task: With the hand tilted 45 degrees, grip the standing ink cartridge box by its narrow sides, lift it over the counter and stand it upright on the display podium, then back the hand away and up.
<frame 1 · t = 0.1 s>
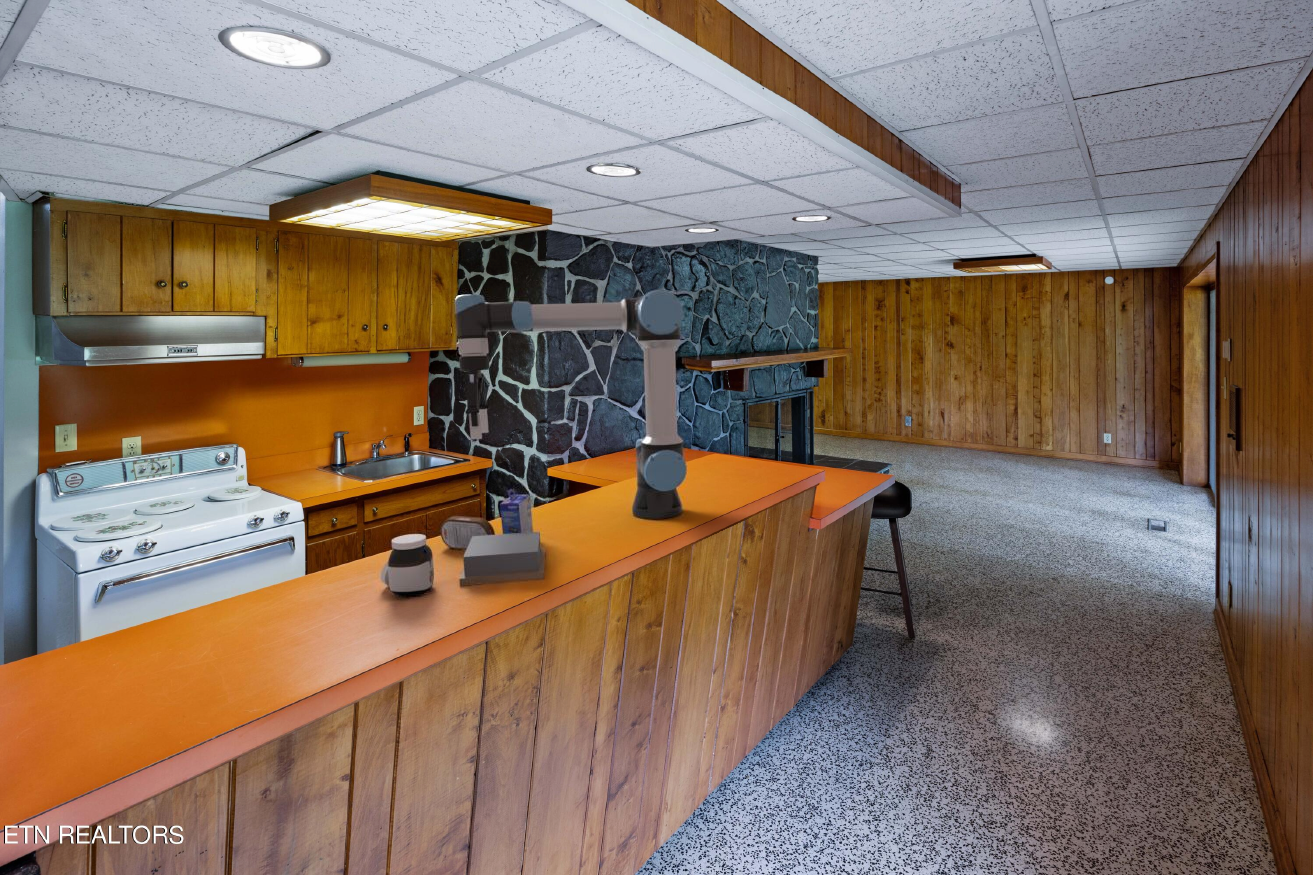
hand: (480, 435, 175), 28 cm above the worktop, tool pointing down, fingers open, 13 cm apart
display podium: (505, 568, 153), on the worktop
spread jar: (407, 590, 141), on the worktop
ink cartridge box: (518, 544, 172), on the worktop
tin: (468, 550, 168), on the worktop
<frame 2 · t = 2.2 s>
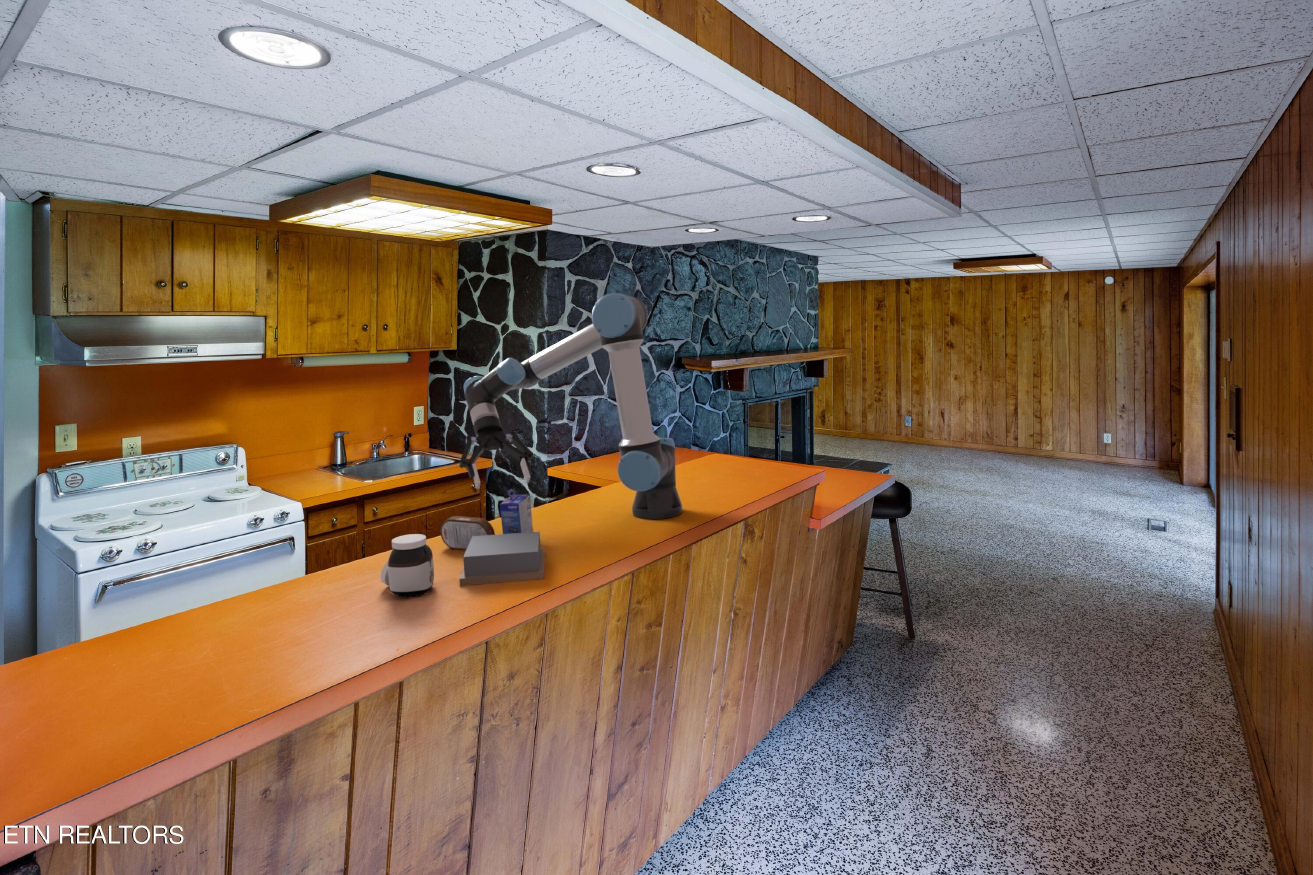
hand: (503, 483, 177), 15 cm above the worktop, tool tilted 45°, fingers open, 13 cm apart
nothing on the worktop moved.
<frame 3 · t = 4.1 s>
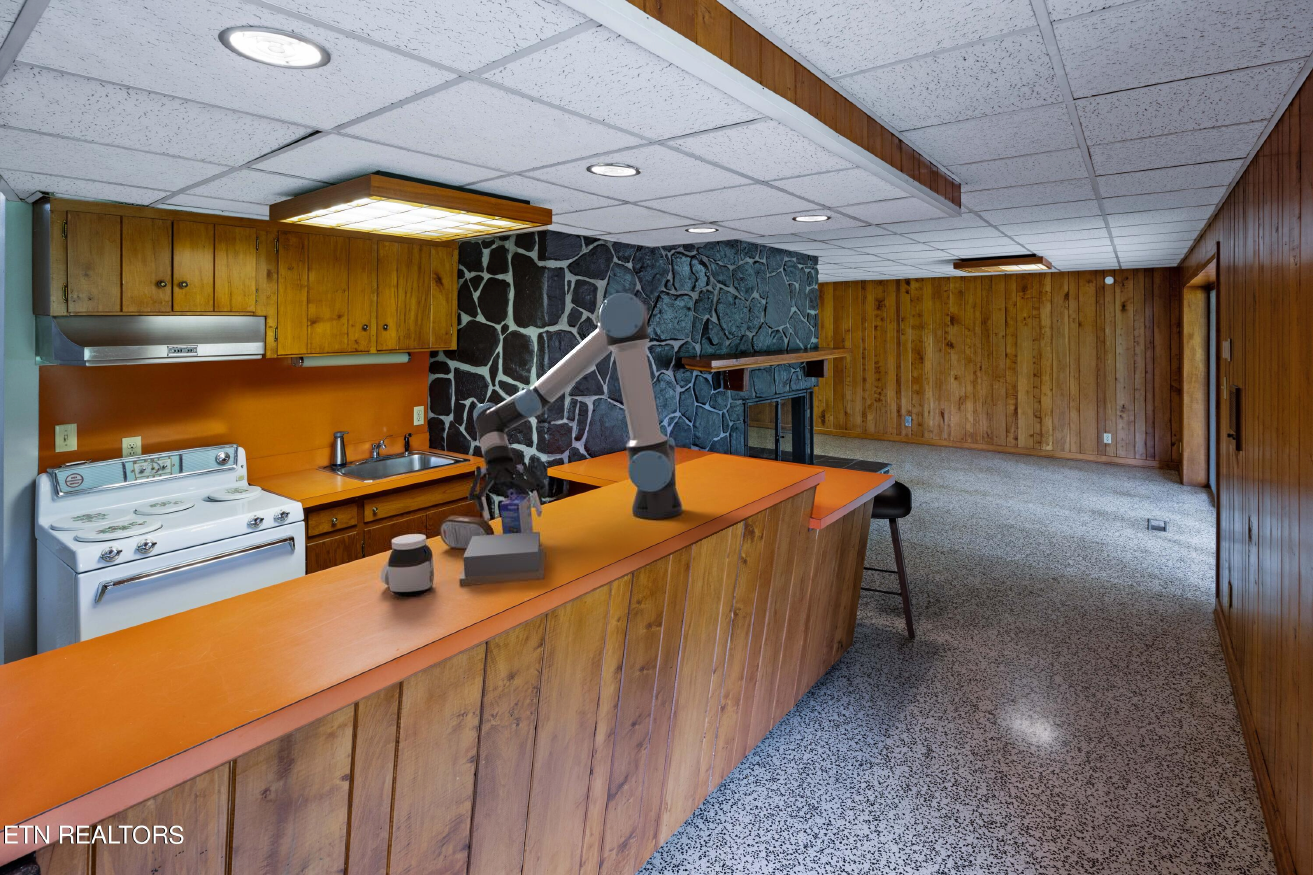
hand: (514, 517, 169), 7 cm above the worktop, tool tilted 45°, fingers open, 13 cm apart
tin: (468, 549, 168), on the worktop, touching gripper
everything else where it was.
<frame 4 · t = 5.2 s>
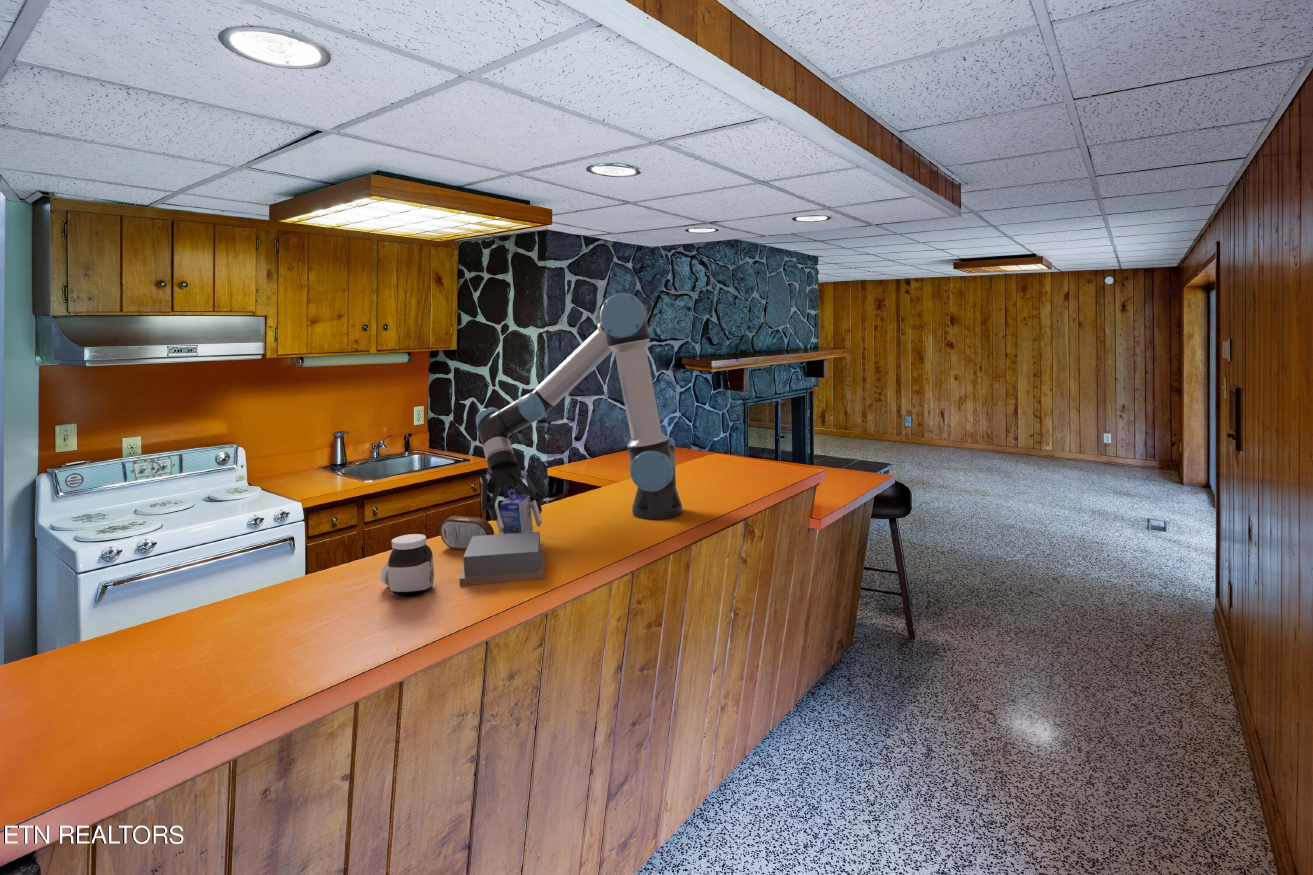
hand: (521, 526, 168), 5 cm above the worktop, tool tilted 45°, fingers closed on ink cartridge box, 9 cm apart
ink cartridge box: (518, 544, 172), on the worktop, touching gripper
tin: (467, 549, 168), on the worktop
everything else where it was.
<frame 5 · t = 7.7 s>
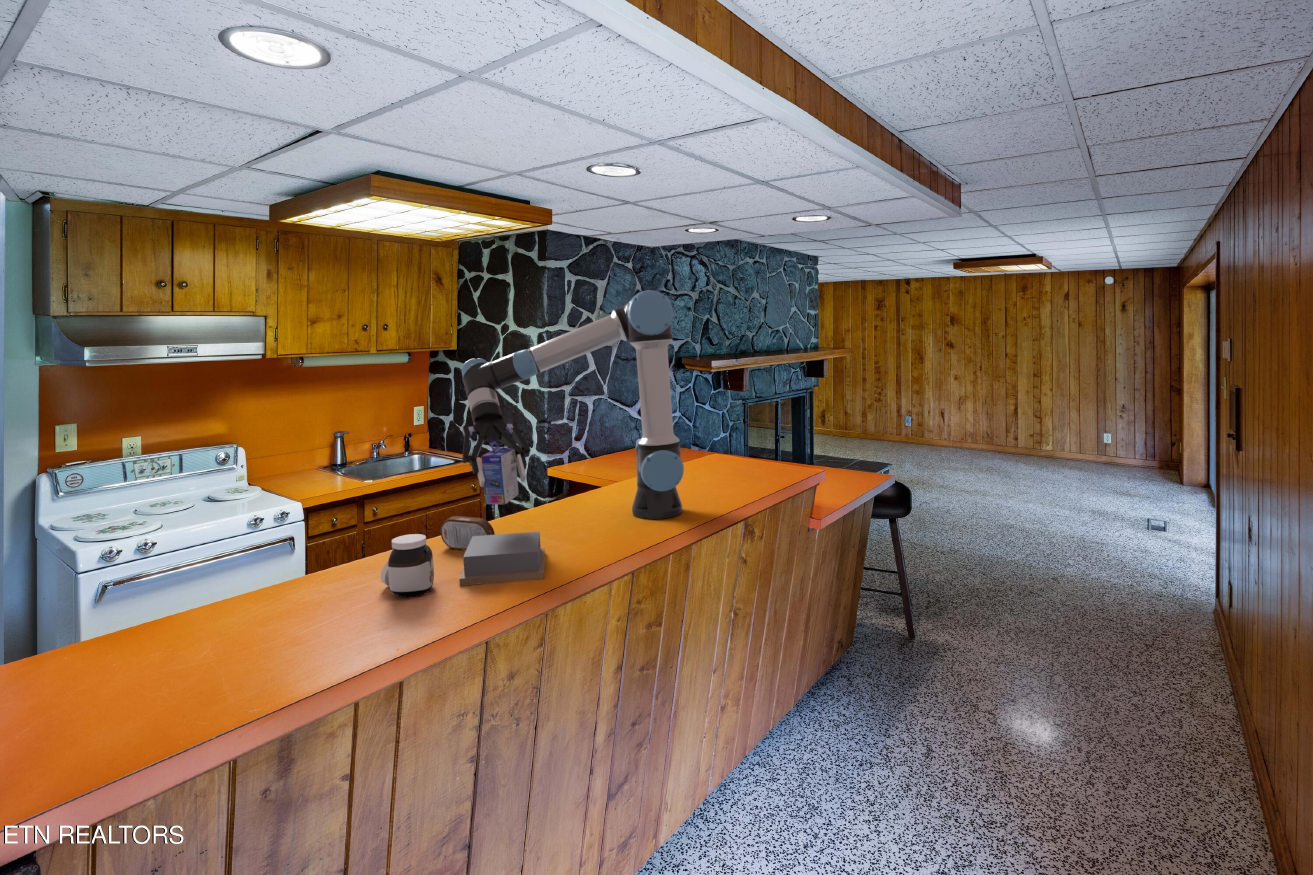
hand: (503, 481, 159), 19 cm above the worktop, tool tilted 45°, fingers closed on ink cartridge box, 9 cm apart
ink cartridge box: (501, 500, 163), point 13 cm above the worktop, touching gripper
everything else where it was.
when the fingers open (13 cm above the worktop, at t = 10.0 s): ink cartridge box drops 1 cm, resting on display podium.
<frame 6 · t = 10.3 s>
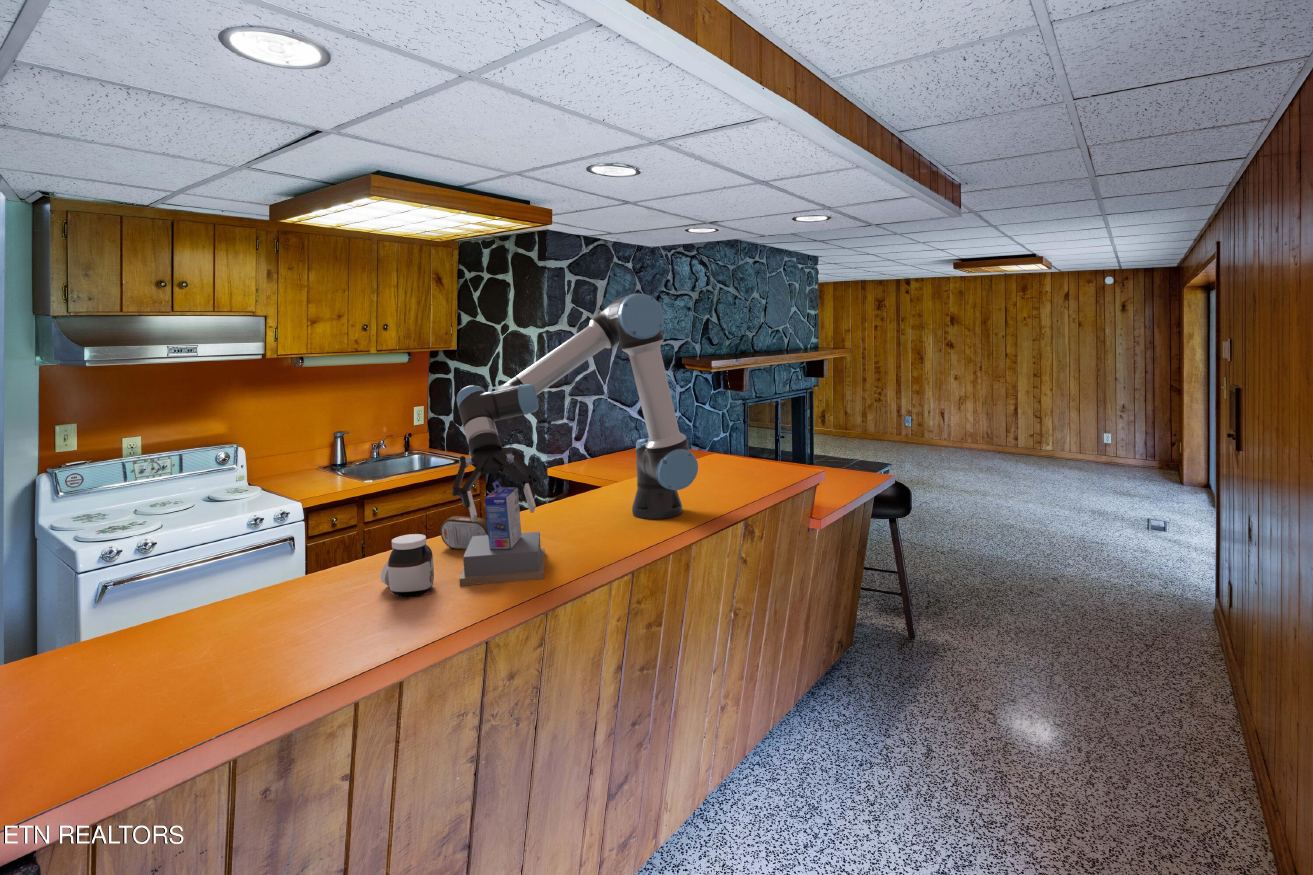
hand: (504, 514, 149), 14 cm above the worktop, tool tilted 45°, fingers open, 13 cm apart
ink cartridge box: (505, 543, 152), point 6 cm above the worktop, touching display podium
everything else where it was.
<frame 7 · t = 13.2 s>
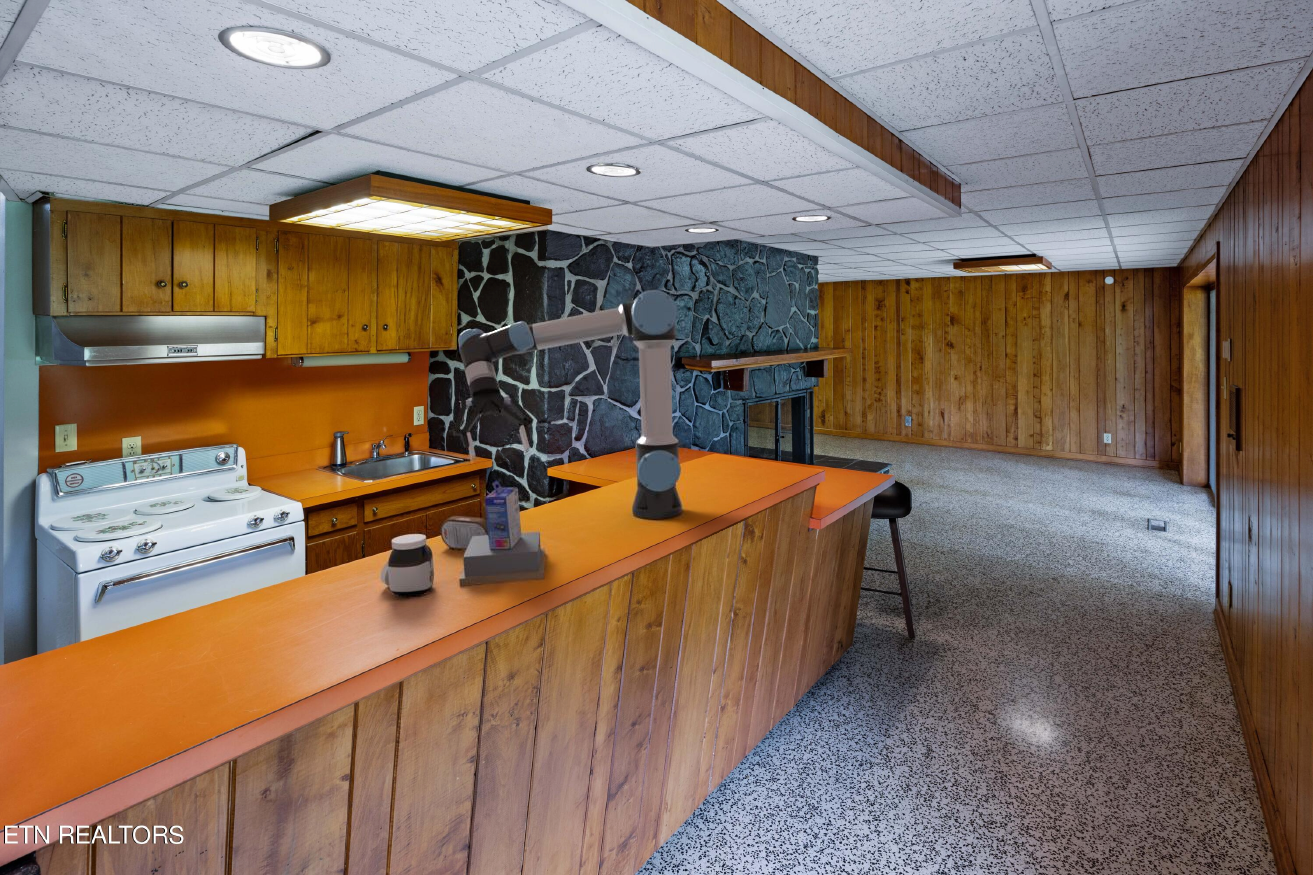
hand: (500, 454, 165), 24 cm above the worktop, tool tilted 35°, fingers open, 13 cm apart
nothing on the worktop moved.
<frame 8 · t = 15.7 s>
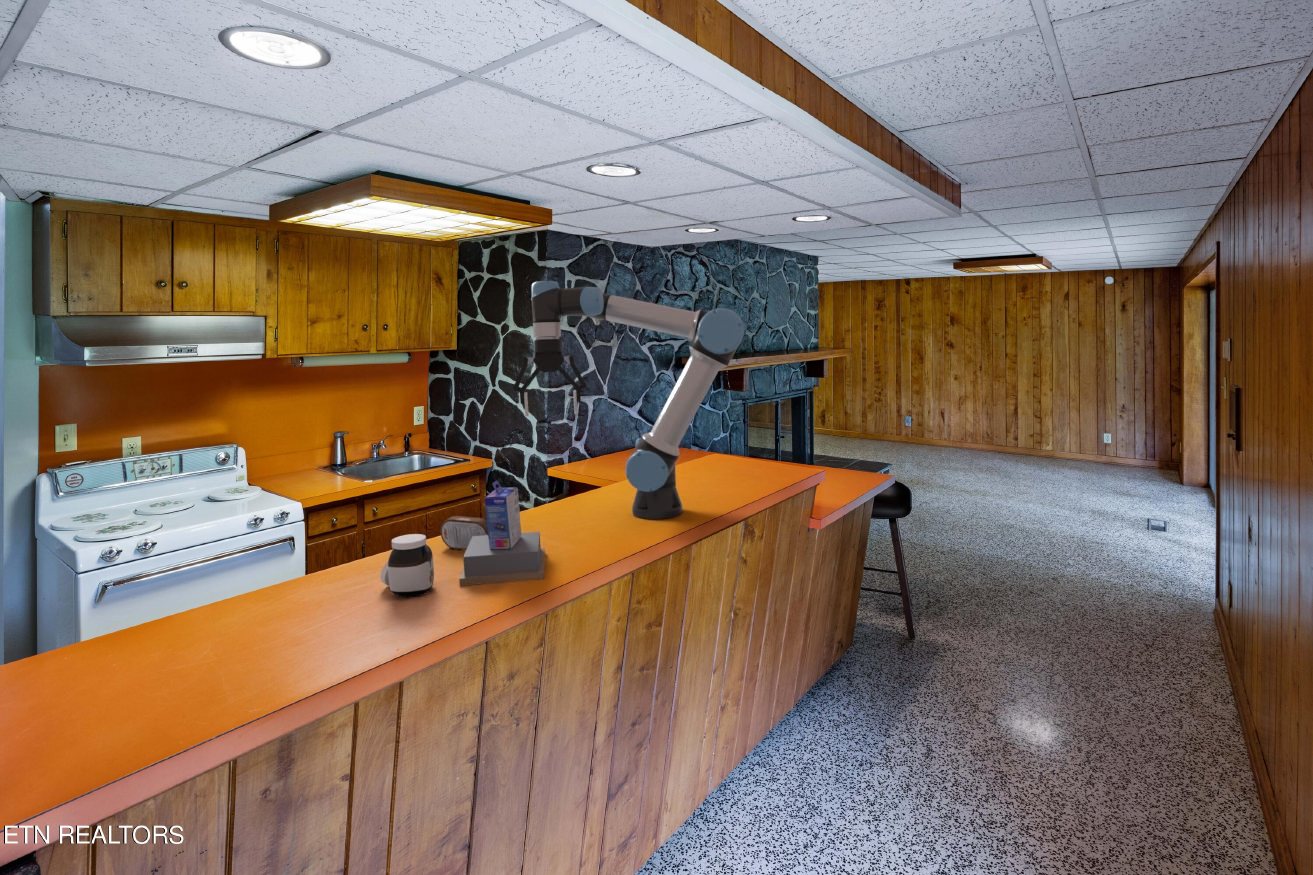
hand: (551, 414, 185), 32 cm above the worktop, tool pointing down, fingers open, 13 cm apart
nothing on the worktop moved.
at the end: ink cartridge box inside the target area on the display podium (0.4 cm from its centre), point 5.8 cm above the display podium's base; ink cartridge box tilted 0°; the gripper is holding nothing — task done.
